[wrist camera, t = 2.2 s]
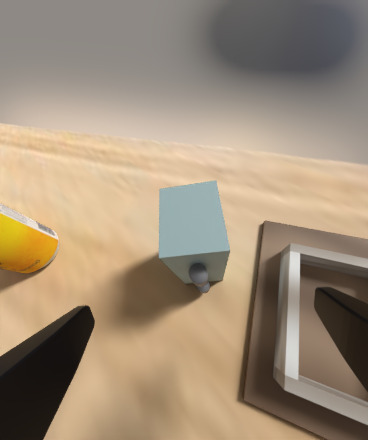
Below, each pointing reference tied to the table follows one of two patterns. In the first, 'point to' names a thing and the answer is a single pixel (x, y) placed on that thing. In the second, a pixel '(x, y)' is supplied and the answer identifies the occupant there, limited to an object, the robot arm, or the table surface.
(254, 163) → the table surface
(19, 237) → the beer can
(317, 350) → the brown framed base board
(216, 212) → the pale blue box
